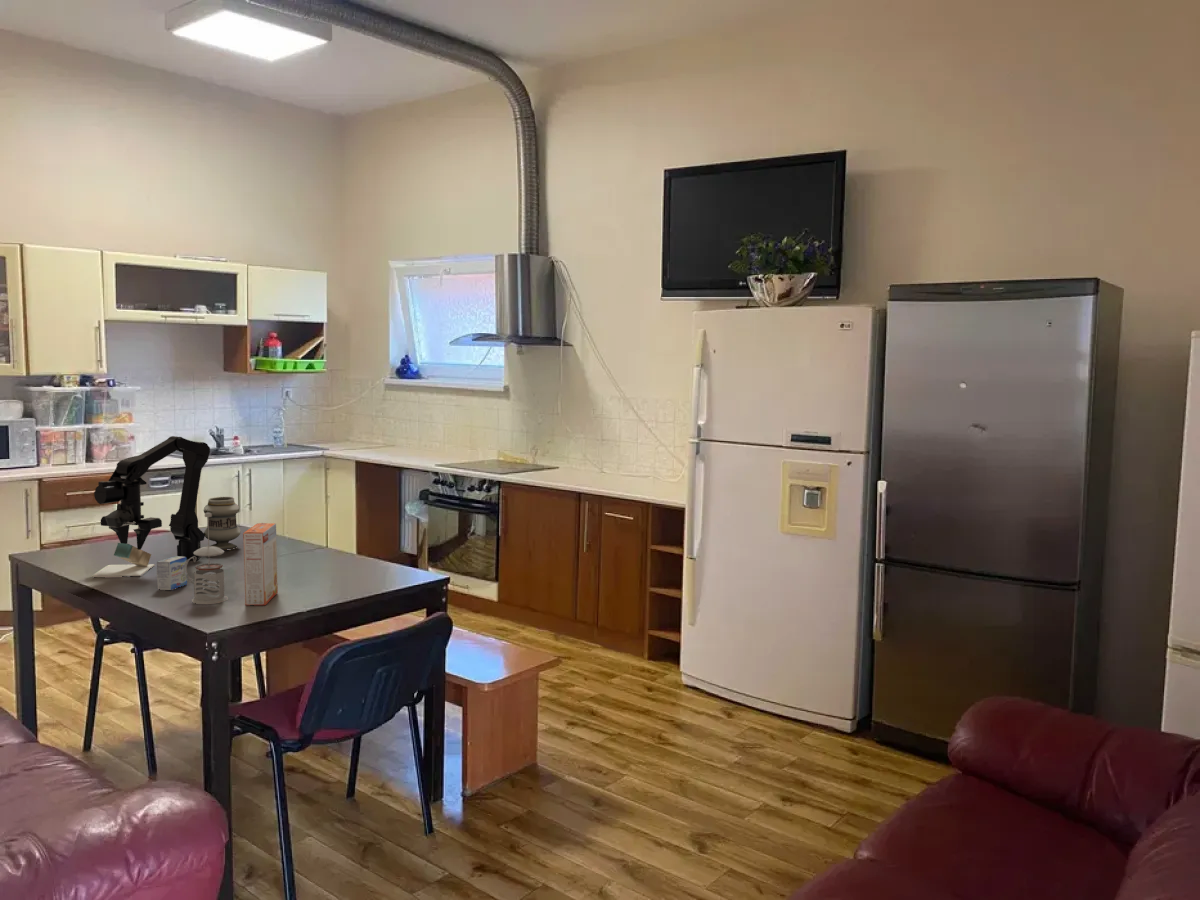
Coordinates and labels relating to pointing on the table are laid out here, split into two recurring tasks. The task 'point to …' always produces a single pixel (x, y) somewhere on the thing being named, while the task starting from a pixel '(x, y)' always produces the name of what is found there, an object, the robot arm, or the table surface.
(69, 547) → the table surface
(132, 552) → the birch block
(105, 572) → the cream square tile
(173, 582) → the medicine box
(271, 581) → the cracker box
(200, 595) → the french press
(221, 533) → the apothecary jar
